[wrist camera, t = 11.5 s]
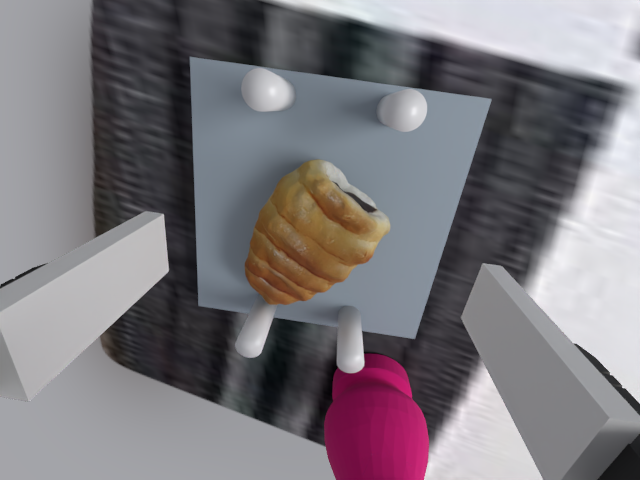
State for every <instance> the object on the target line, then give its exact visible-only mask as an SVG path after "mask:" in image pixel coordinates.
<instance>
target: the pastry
mask: <svg viewBox="0 0 640 480" xmlns="http://www.w3.org/2000/svg"><path fill="white" fill-rule="evenodd" d="M389 231H390V222H389V218H388V217H387V216H386V215H385V214H384V213H383V212H381V211H380V210H378V209H377V207H376V204H375V203H374V202H373V200H372V199H371V198H370V197H368V196H367V195H366V194H365V193H363V192H361V191H360V190H359V189H357V188H356V187H354V186H352V185H350V184H349V183H348V182H347V180H346V177H345V176H344V174H343V173H342V171H341V170H340V169H338V168H336V167H335V166H334V165H333V164H332V163H330V162H328V161H325V160H320V159H316V160H310V161H307V162H305V163H303V164H302V165H301V166H300V167H299V168H297V169H296V170H294V171H293V172H291V173H289V174H287V175H285V176H284V177H282V178H281V180H280V181H279V182H278V183H277V186H276V188H275V190H274V192H273V194H272V195H271V196H270V197H269V199H268V201H267V203H266V204H265V205H264V207H263V208H262V209H261V210H260V212H259V217H258V220H257V222H256V224H255V227H254V230H253V236H252V238H251V241H250V248H249V253H248V257H247V259H246V261H245V276H246V278H247V280H248V282H249V284H250V286H251V287H252V288H253V289H255V290H256V291H257V292H258V293H259V294H260V295H261V296H262V297H263V299H264V300H265V301H266V302H267V303H268V304H270V305H277V304H283V305H289V304H292V303H294V302H297V301H307V300H309V299H311V298H312V297H313V296H314V295H315V294H317V293H324V292H326V291H327V290H329V289H330V288H331V287H332V286H333V285H334V284H335V283H340V282H343V281H344V280H345V279H346V278H348V276H349V274H350V273H351V271H352V269H354V268H355V267H356V266H357V265H358V264H364V263H366V262H368V261H369V260H370V259H371V258H372V257H373V254H374V251H375V249H376V247H377V245H378V243H379V241H380V240H381V239H382V237H383V236H384V235H386V234H388V232H389Z"/></svg>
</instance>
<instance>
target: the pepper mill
mask: <svg viewBox="0 0 640 480" xmlns="http://www.w3.org/2000/svg"><path fill="white" fill-rule="evenodd" d="M332 397H333V402H332V404H331V405H330V407H329V409H328V411H327V414H326V417H325V423H324V428H325V445H326V450H327V455H328V459H329V462H330V465H331V467H332V470H333V473H334V475H335V478H336V480H424V476H425V472H426V467H427V463H428V451H429V439H428V432H427V426H426V421H425V418H424V415H423V413H422V411H421V409H420V408H419V407H418V405H417V404H416V403H415V402H414V401H413V400H412V392H411V388H410V384H409V380H408V376H407V374H406V371H405V370H404V368H403V367H402V366H401V365H400V364H399V363H398V362H396V361H395V360H393V359H391V358H389V357H387V356H384V355H380V354H371V353H367V354H364V367H363V368H362V369H361V370H360V371H359V372H356V373H346V372H343V371H342V370H340V369H339V368H337V369H336V371H335V373H334V377H333V393H332Z"/></svg>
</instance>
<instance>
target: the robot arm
mask: <svg viewBox="0 0 640 480" xmlns="http://www.w3.org/2000/svg"><path fill="white" fill-rule="evenodd" d="M168 272H169V267H168V256H167V244H166V233H165V222H164V214H160V213H154V212H148V211H145V212H143V213H141V214H140V215H138V216H136V217H134V218H132V219H130V220H128V221H126V222H125V223H123V224H121V225H119V226H117V227H115V228H113V229H111V230H110V231H108V232H106V233H104V234H102V235H100V236H98V237H96V238H95V239H93V240H91V241H89V242H87V243H85V244H83V245H82V246H80V247H78V248H76V249H74V250H72V251H70V252H68V253H67V254H65V255H63V256H61V257H59V258H57V259H55V260H53V261H51V262H50V263H47V264H43V265H40V266H37V267H34V268H32V269H30V270H28V271H26V272H24V273H22V274H20V275H18V276H16V277H15V279H11V280H9V281H7V282H5V283H3V284H1V286H0V397H4V398H10V399H15V400H21V401H27V402H29V401H30V400H31V399H32V398H33V397H34V396H36V394H38V393H39V392H40V391H41V390H42V389H43V388H44V387H45V386H46V385H47V384H48V383H49V382H51V381H52V380H53V379H54V378H55V377H56V376H57V375H58V374H59V373H60V372H61V371H62V370H64V369H65V368H66V367H67V366H68V365H69V364H70V363H71V362H72V361H73V360H74V359H75V358H76V357H77V356H78V355H80V354H81V353H82V352H83V351H84V350H85V349H86V348H87V347H88V346H89V345H90V344H91V343H92V342H94V341H95V340H96V339H97V338H98V337H99V336H100V335H101V334H102V333H103V332H104V331H105V330H106V329H108V328H109V327H110V326H111V325H112V324H113V323H114V322H115V321H116V320H117V319H118V318H119V317H120V316H121V315H123V314H124V313H125V312H126V311H127V310H128V309H129V308H130V307H131V306H132V305H133V304H134V303H135V302H137V301H138V300H139V299H140V298H141V297H142V296H143V295H144V294H145V293H146V292H147V291H148V290H149V289H150V288H152V287H153V286H154V285H155V284H156V283H157V282H158V281H159V280H160V279H161V278H162V277H163V276H164V275H165V274H167V273H168ZM461 319H462V321H463V323H464V325H465V327H466V329H467V331H468V333H469V335H470V337H471V339H472V341H473V343H474V345H475V347H476V349H477V351H478V353H479V355H480V356H481V358H482V360H483V362H484V364H485V366H486V368H487V370H488V372H489V374H490V376H491V378H492V380H493V382H494V384H495V386H496V388H497V390H498V392H499V394H500V396H501V398H502V399H503V401H504V403H505V405H506V407H507V409H508V411H509V413H510V415H511V417H512V419H513V421H514V423H515V425H516V427H517V429H518V431H519V433H520V435H521V437H522V439H523V441H524V442H525V444H526V446H527V448H528V450H529V452H530V454H531V456H532V458H533V460H534V462H535V464H536V466H537V468H538V470H539V472H540V474H541V476H542V478H543V480H640V404H639V403H638V402H637V400H636V399H635V398H634V397H633V396H632V395H631V394H630V393H629V392H628V391H627V390H626V389H624V388H622V385H621V384H620V383H619V382H618V381H617V380H616V379H615V378H614V377H613V376H611V375H610V372H609V371H608V370H607V369H606V368H605V367H604V366H603V365H602V364H601V363H600V362H599V361H598V360H597V359H596V358H595V357H594V356H592V355H591V354H590V353H588V352H587V351H586V350H584V349H583V348H581V347H580V346H579V345H577V344H573V343H572V342H571V341H570V339H569V338H568V337H567V336H566V335H565V334H564V333H563V332H562V331H561V330H560V329H559V328H558V326H557V325H556V324H555V323H554V322H553V321H552V320H551V319H550V318H549V317H548V316H547V315H546V313H545V312H544V311H543V310H542V309H541V308H540V307H539V306H538V305H537V304H536V303H535V302H534V300H533V299H532V298H531V297H530V296H529V295H528V294H527V293H526V292H525V291H524V290H523V289H522V287H521V286H520V285H519V284H518V283H517V282H516V281H515V280H514V279H513V278H512V277H511V276H510V274H509V273H508V272H507V271H506V270H505V269H504V268H503V267H502V266H497V265H491V264H484V263H483V264H482V266H481V269H480V271H479V274H478V276H477V279H476V281H475V284H474V286H473V289H472V291H471V294H470V296H469V299H468V301H467V304H466V306H465V309H464V311H463V314H462V316H461Z"/></svg>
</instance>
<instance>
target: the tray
mask: <svg viewBox="0 0 640 480" xmlns="http://www.w3.org/2000/svg"><path fill="white" fill-rule="evenodd" d="M190 77H191V105H192V134H193V162H194V191H195V219H196V248H197V276H198V305H199V306H203V307H209V308H216V309H222V310H229V311H235V312H242V313H249V315H248V317H247V319H246V321H245V323H244V326H243V328H242V330H241V332H240V334H239V336H238V338H237V341H236V343H235V348H236V350H237V352H238V353H239V354H241V355H242V356H244V357H248V358H253V357H257V356H258V355H260V354H261V352H262V349H263V346H264V343H265V340H266V337H267V334H268V331H269V328H270V325H271V323H272V320H273V317H275V318H281V319H288V320H294V321H301V322H307V323H314V324H321V325H327V326H334V327H338V335H337V366H338V368H339V369H340V370H342V371H343V372H346V373H356V372H359V371H360V370H361V369H362V368H363V367H364V352H363V339H362V331H366V332H373V333H379V334H386V335H393V336H399V337H406V338H412V339H415V336H416V333H417V330H418V327H419V324H420V321H421V318H422V314H423V311H424V308H425V305H426V302H427V299H428V296H429V293H430V290H431V286H432V283H433V280H434V277H435V274H436V271H437V268H438V265H439V262H440V258H441V255H442V252H443V249H444V246H445V243H446V240H447V237H448V234H449V230H450V227H451V224H452V221H453V218H454V215H455V212H456V209H457V206H458V202H459V199H460V196H461V193H462V190H463V187H464V184H465V181H466V178H467V174H468V171H469V168H470V165H471V162H472V159H473V156H474V153H475V150H476V147H477V143H478V140H479V137H480V134H481V131H482V128H483V125H484V122H485V119H486V115H487V112H488V109H489V106H490V103H491V100H492V99H488V98H481V97H473V96H466V95H459V94H452V93H445V92H438V91H431V90H423V89H416V88H409V87H402V86H395V85H388V84H380V83H373V82H366V81H359V80H352V79H345V78H338V77H330V76H323V75H316V74H309V73H302V72H295V71H288V70H280V69H273V68H266V67H259V66H252V65H245V64H237V63H230V62H223V61H216V60H209V59H202V58H195V57H190ZM316 159H320V160H325V161H328V162H330V163H332V164H333V165H334V166H335V167H336V168H338V169H340V170H341V171H342V173H343V174H344V176H345V177H346V180H347V182H348V183H349V184H350V185H352V186H354V187H356V188H357V189H359V190H360V191H361V192H363V193H365V194H366V195H367V196H368V197H370V198H371V199H372V200H373V202H374V203H375V204H376V207H377V209H378V210H380V211H381V212H383V213H384V214H385V215H386V216H387V217H388V218H389V222H390V231H389V232H388V234H386V235H384V236H383V237H382V239H381V240H380V241H379V243H378V245H377V247H376V249H375V251H374V254H373V257H372V258H371V259H370V260H369V261H368V262H366V263H364V264H358V265H357V266H356V267H355V268H354V269H352V271H351V273H350V274H349V276H348V278H346V279H345V280H344V281H343V282H340V283H335V284H334V285H333V286H332V287H331V288H330V289H329V290H327V291H326V292H324V293H317V294H315V295H314V296H313V297H312V298H311V299H309V300H307V301H297V302H294V303H292V304H289V305H283V304H277V305H270V304H268V303H267V302H266V301H265V300H264V299H263V297H262V296H261V295H260V294H259V293H258V292H257V291H256V290H255V289H253V288H252V287H251V286H250V284H249V282H248V280H247V278H246V276H245V261H246V259H247V257H248V253H249V248H250V241H251V238H252V236H253V230H254V227H255V224H256V222H257V220H258V217H259V212H260V210H261V209H262V208H263V207H264V205H265V204H266V203H267V201H268V199H269V197H270V196H271V195H272V194H273V192H274V190H275V188H276V186H277V183H278V182H279V181H280V180H281V178H282V177H284V176H285V175H287V174H289V173H291V172H293V171H294V170H296V169H297V168H299V167H300V166H301V165H302V164H303V163H305V162H307V161H310V160H316Z"/></svg>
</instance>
